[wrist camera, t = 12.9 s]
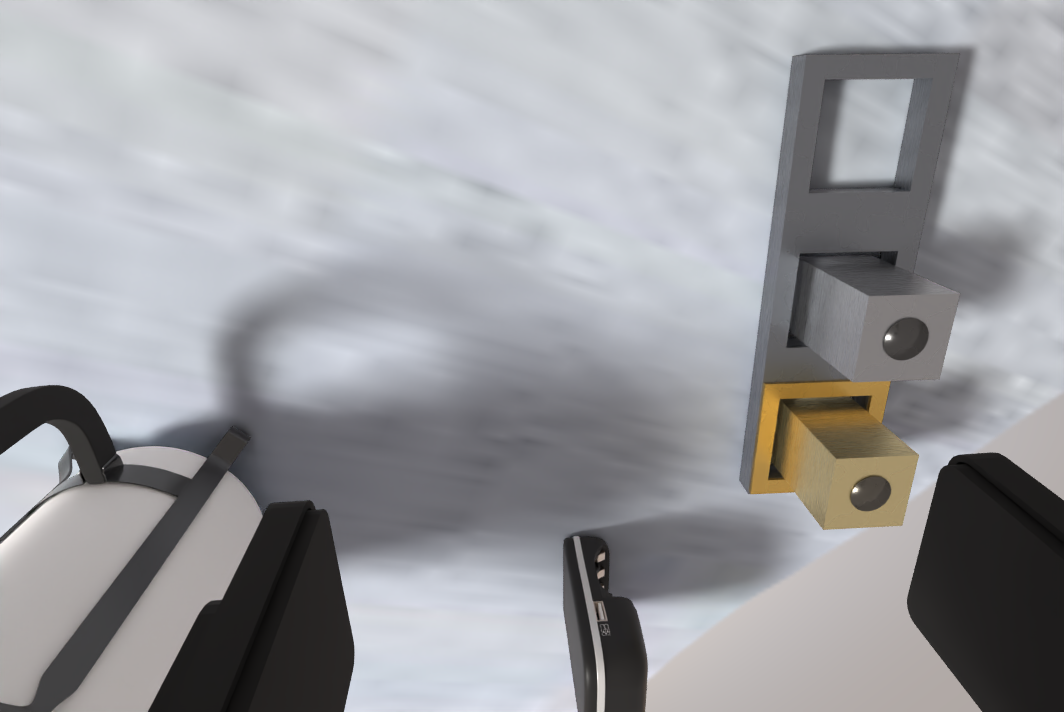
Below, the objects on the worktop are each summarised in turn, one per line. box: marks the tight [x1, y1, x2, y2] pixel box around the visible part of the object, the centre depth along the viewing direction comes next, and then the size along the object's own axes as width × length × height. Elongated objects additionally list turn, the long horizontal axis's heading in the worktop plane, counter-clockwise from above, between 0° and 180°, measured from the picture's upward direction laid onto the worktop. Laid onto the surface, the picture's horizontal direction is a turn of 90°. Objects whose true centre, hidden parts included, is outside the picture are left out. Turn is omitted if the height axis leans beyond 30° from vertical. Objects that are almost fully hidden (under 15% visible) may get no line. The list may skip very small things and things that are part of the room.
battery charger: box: [563, 536, 648, 712], centre depth 41 cm, size 7×4×11 cm, turn 1°
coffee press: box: [0, 385, 263, 712], centre depth 28 cm, size 17×16×30 cm
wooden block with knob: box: [771, 396, 919, 530], centre depth 39 cm, size 4×4×8 cm
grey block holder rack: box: [739, 53, 960, 494], centre depth 39 cm, size 26×8×2 cm, turn 1°
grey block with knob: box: [789, 255, 960, 382], centre depth 36 cm, size 4×4×8 cm
